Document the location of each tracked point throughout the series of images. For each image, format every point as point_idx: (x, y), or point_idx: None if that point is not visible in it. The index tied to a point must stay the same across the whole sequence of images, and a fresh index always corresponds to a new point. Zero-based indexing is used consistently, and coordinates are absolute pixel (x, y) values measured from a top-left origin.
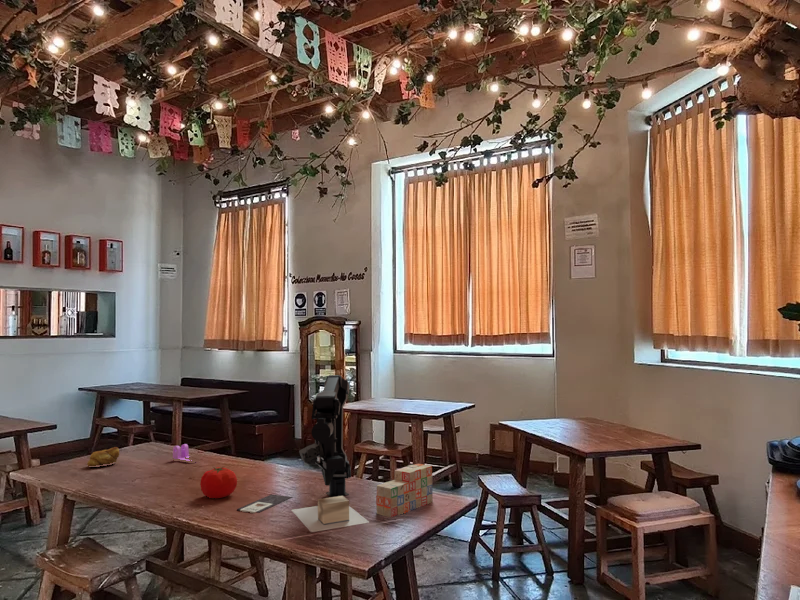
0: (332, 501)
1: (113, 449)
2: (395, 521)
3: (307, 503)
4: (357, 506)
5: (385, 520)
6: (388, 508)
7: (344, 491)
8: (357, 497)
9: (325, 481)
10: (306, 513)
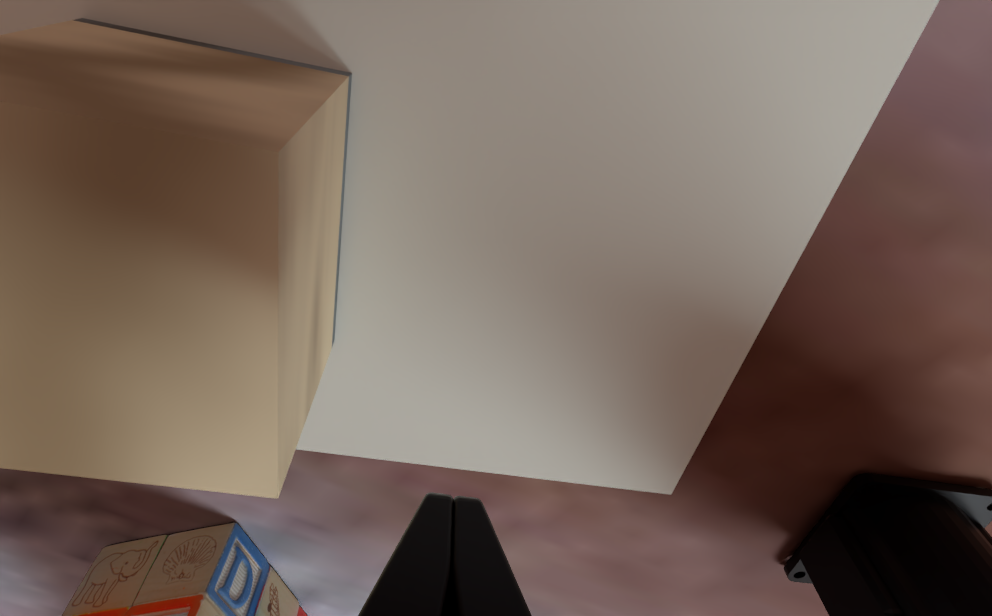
0: (21, 291)
1: None
2: (28, 540)
3: (971, 263)
4: (517, 514)
5: (77, 510)
6: (84, 611)
7: (813, 583)
8: (703, 587)
9: (393, 561)
10: (654, 63)
